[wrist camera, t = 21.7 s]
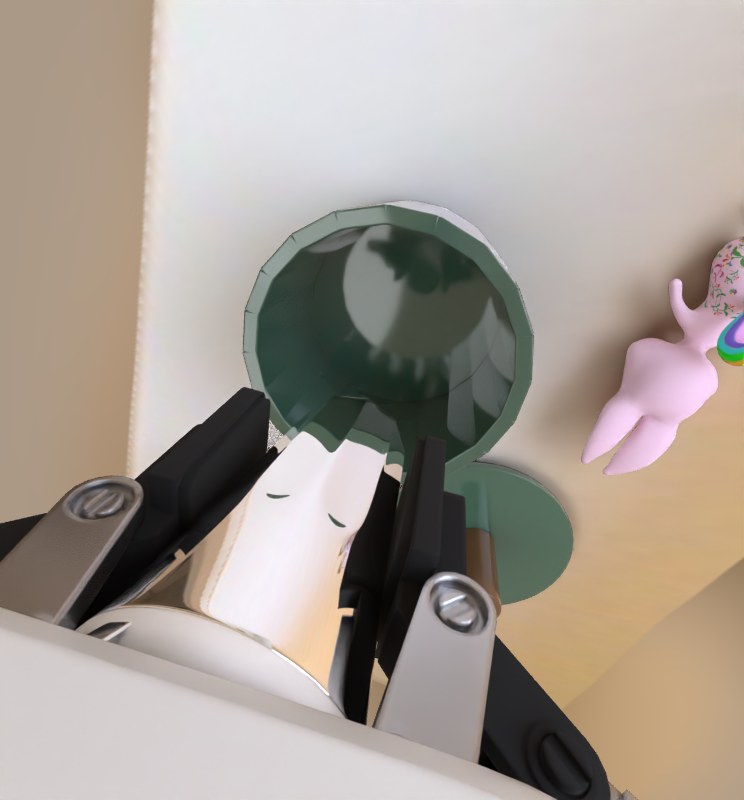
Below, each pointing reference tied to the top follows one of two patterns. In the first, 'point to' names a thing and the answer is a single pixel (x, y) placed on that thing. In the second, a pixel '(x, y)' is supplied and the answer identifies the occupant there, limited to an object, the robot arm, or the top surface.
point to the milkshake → (280, 568)
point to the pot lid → (511, 531)
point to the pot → (393, 326)
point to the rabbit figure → (673, 370)
